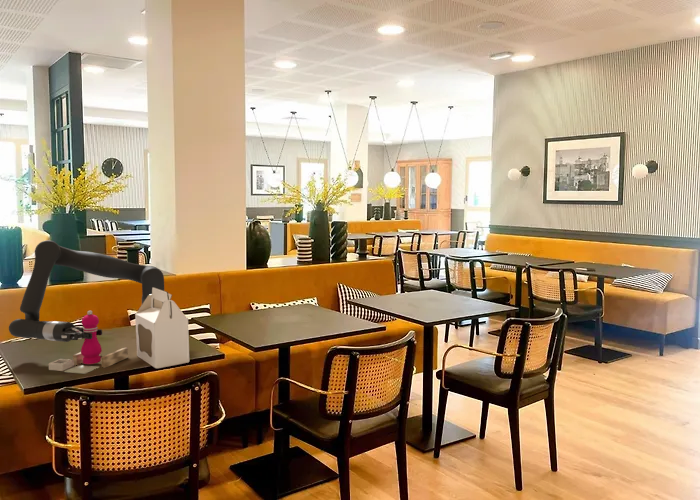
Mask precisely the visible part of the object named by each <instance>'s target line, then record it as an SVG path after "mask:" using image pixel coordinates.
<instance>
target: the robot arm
mask: <svg viewBox="0 0 700 500" xmlns="http://www.w3.org/2000/svg"><path fill="white" fill-rule="evenodd" d="M54 266H61V267H68V268H71V269H74V270H76V271H81V272H83V273H87V274H90V275H94V276H98V277H103V278H110V279H123V280H129V281H131V282H132V281H133V282H135V283H140V284H141V294H142V295H141V305H142V304H143V302H144V301H145V299H146V298H147V296H148V295H150V294H152V288H153V287H155V288H158V289H161V290H163V291H165V275H164V273H163V271H162V270H161V269H160V268H158V267H157V266H153V265H145V264H139V263H138V264H137V263H132V262H129V261H127V260H124V259H120V258H118V257H114V256H111V255H107V254H103V253H98V252H92V251H82V250H75V249H71V248H67V247H64V246H61V245H59V244H58V243H56V242H55V241H54V240H49V239H47V240H43V241H41V242H39V243H38V244H37V245H36V246H35V249H34V265H33V269H32V272H31V276H30V278H29V280H28V283H27V286H26V288H25V291H24V294H23V296H22V301H21V304H20V307H19V311H20V312H21V313H24V318H16V319H14V320H13V321H11V322H10V323H9V325H8V332H9V333H10V335H11V336H13V337H15V338H23V339H31V338H33V339H38V340H46V341H47V340H48V341H54V342H62V343H63V342H64V343H67V342H68V343H69V342H71V341H78V340H82V339H84V340H85V339H92V333H86V332H84V331H83V330H84V329H83V328H84V326H80V325H79V326H75V325H74V323H73V322H70V321H57V320H54V321H53V320H51V321H49V320H48V321H46V320H40V311H41V308H42V303H43V301H44V297H45V293H46V290H47V285H48V281H49V278H50V276H51V274H52V273H51V272H52V271H53V267H54ZM162 303H164V302H162ZM97 329H98V330H97V332H96V334H97V336H103V330H102V329H101V328H100V329H99V328H97Z"/></svg>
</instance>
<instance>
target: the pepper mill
mask: <svg viewBox="0 0 700 500" xmlns="http://www.w3.org/2000/svg"><path fill="white" fill-rule="evenodd" d="M86 313H87V314H86V315H84V316H82V318H81V325H82V327H84V328H83V329H84V330H83V331H84V332H86V333H92V339H84V341H83V343H82V346H81V349H80V352H81V354H82V355H83V356H84V358H83V363H82V364H83V365H84V364H85V365H95V364H98V363H101V362H102V360H101V357H102V356H99V354H100V353H101V354H102V352H103V351H102V345H101V343H100V341H99V339H98V337H97V336H98V335H97V334H96V332H97V330H98V329H99V327H98V324H99V321H100V320H99V317H98V316H97V315H95V314H93V311H92V310H88V311H87V312H86Z"/></svg>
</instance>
